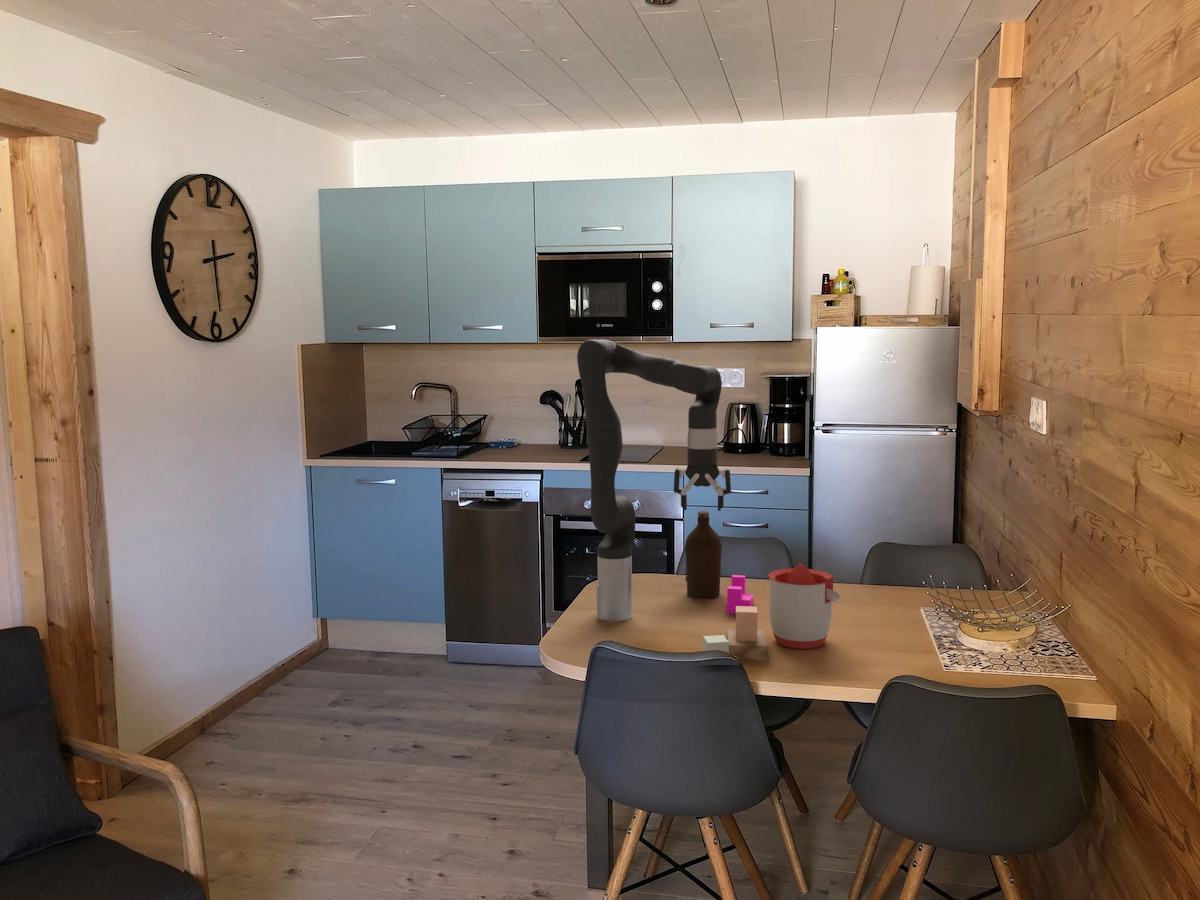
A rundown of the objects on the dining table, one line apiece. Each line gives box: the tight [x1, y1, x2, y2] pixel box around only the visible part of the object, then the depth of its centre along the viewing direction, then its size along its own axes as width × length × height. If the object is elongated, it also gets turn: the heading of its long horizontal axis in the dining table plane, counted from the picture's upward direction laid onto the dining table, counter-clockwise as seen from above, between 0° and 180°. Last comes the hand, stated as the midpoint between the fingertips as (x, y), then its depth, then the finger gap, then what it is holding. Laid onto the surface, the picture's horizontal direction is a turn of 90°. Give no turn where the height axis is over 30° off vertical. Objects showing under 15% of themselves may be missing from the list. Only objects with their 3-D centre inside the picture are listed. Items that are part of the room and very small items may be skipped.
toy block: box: [726, 574, 754, 615], centre depth 265 cm, size 15×6×8 cm, turn 167°
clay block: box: [735, 605, 758, 641], centre depth 227 cm, size 5×5×7 cm
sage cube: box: [702, 634, 729, 653], centre depth 223 cm, size 5×5×5 cm
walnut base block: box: [726, 629, 769, 662], centre depth 228 cm, size 9×12×4 cm
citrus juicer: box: [767, 563, 841, 650], centre depth 233 cm, size 16×17×20 cm
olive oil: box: [684, 510, 723, 600], centre depth 276 cm, size 11×11×25 cm
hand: (702, 509), depth 239 cm, fingers open, 8 cm apart
